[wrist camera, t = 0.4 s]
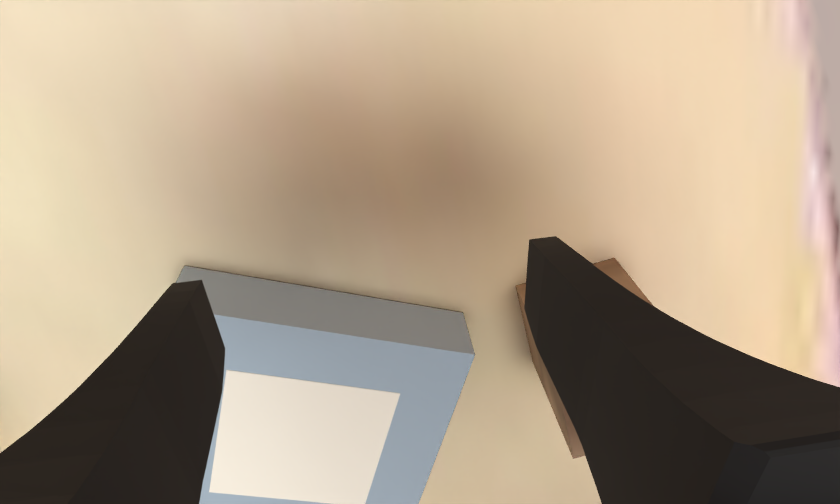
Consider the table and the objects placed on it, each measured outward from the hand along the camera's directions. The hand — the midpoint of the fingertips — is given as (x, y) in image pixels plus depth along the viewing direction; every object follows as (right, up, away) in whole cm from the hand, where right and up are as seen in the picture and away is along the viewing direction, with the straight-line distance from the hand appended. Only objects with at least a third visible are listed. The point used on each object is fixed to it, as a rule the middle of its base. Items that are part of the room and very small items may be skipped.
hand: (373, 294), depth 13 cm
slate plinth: (-4, -6, +15) cm, 16 cm away
